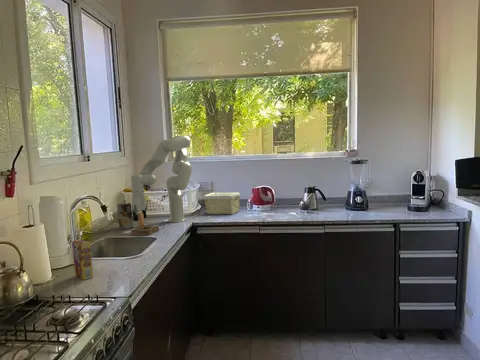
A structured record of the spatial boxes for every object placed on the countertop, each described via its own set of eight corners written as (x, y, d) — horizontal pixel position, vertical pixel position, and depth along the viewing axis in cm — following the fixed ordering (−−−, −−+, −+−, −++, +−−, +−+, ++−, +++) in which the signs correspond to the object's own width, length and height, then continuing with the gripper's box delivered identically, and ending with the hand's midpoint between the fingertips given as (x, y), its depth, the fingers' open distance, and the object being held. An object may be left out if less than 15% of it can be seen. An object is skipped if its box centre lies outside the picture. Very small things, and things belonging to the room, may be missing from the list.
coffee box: (133, 225, 255) (131, 202, 253) (133, 227, 249) (131, 204, 247) (119, 227, 252) (117, 204, 251) (119, 229, 246) (116, 205, 245)
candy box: (94, 277, 156) (90, 241, 154) (84, 280, 153) (80, 244, 151) (84, 273, 162) (81, 238, 160) (74, 276, 159) (70, 241, 157)
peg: (140, 227, 247) (139, 213, 246) (145, 227, 246) (144, 213, 245) (137, 229, 243) (135, 214, 242) (142, 229, 242) (141, 214, 241)
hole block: (142, 230, 239) (142, 225, 238) (159, 230, 235) (158, 226, 235) (131, 235, 227) (131, 230, 227) (148, 235, 224) (148, 230, 223)
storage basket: (204, 214, 280) (202, 195, 279) (214, 210, 295) (213, 192, 294) (232, 215, 270) (231, 195, 269) (241, 210, 285) (240, 192, 284)
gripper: (140, 192, 252) (142, 216, 253) (125, 195, 235) (127, 222, 237) (150, 191, 249) (152, 216, 251) (135, 195, 233) (137, 222, 234)
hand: (140, 219), depth 244 cm, fingers open, 9 cm apart
